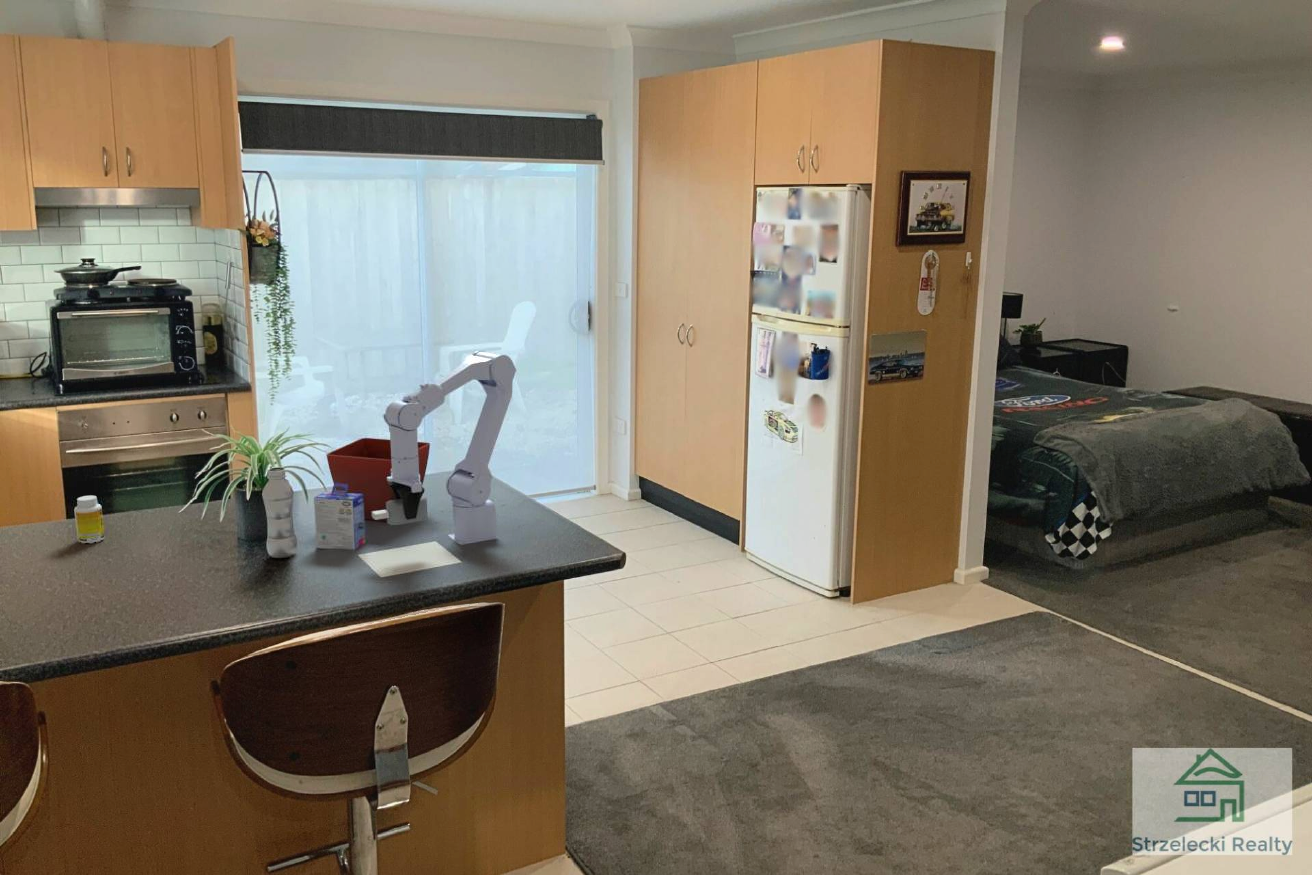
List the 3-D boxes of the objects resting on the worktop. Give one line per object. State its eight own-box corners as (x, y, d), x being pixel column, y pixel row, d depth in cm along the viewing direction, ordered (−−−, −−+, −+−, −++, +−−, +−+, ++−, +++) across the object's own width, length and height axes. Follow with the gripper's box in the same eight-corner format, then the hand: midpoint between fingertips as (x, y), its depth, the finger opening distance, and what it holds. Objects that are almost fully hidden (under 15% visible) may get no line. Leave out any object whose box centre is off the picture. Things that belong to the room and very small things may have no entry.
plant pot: (434, 505, 272) (431, 441, 268) (400, 527, 254) (397, 460, 250) (366, 499, 276) (363, 437, 272) (328, 521, 258) (324, 454, 254)
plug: (424, 514, 237) (423, 495, 236) (430, 519, 233) (429, 499, 232) (371, 523, 230) (370, 503, 229) (376, 528, 227) (375, 508, 226)
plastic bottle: (305, 553, 235) (299, 467, 231) (282, 563, 229) (276, 474, 225) (283, 549, 238) (276, 463, 233) (260, 558, 232) (253, 471, 227)
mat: (435, 543, 243) (435, 541, 243) (462, 564, 230) (461, 562, 230) (358, 557, 234) (357, 554, 233) (380, 580, 220) (380, 577, 220)
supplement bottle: (108, 541, 242) (103, 498, 240) (81, 546, 239) (75, 502, 237) (102, 534, 247) (97, 492, 244) (75, 539, 243) (70, 497, 241)
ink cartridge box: (367, 544, 242) (364, 483, 239) (356, 552, 237) (352, 490, 234) (327, 541, 244) (323, 480, 241) (315, 548, 239) (311, 487, 235)
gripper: (376, 451, 233) (379, 510, 236) (397, 465, 221) (400, 527, 224) (407, 447, 237) (409, 505, 240) (430, 461, 225) (432, 522, 228)
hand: (407, 515), depth 233 cm, fingers closed on plug, 4 cm apart
